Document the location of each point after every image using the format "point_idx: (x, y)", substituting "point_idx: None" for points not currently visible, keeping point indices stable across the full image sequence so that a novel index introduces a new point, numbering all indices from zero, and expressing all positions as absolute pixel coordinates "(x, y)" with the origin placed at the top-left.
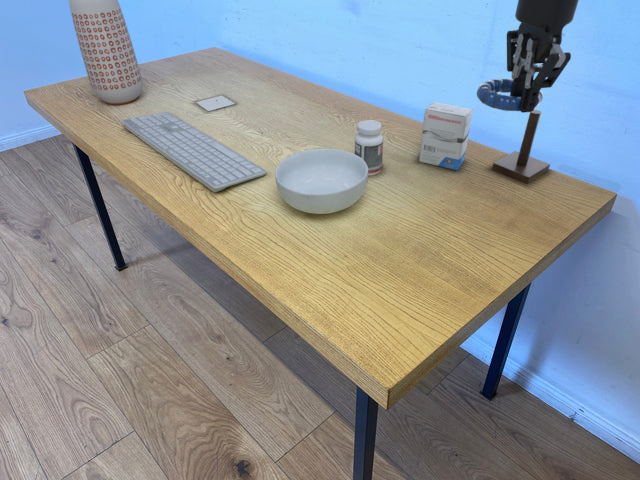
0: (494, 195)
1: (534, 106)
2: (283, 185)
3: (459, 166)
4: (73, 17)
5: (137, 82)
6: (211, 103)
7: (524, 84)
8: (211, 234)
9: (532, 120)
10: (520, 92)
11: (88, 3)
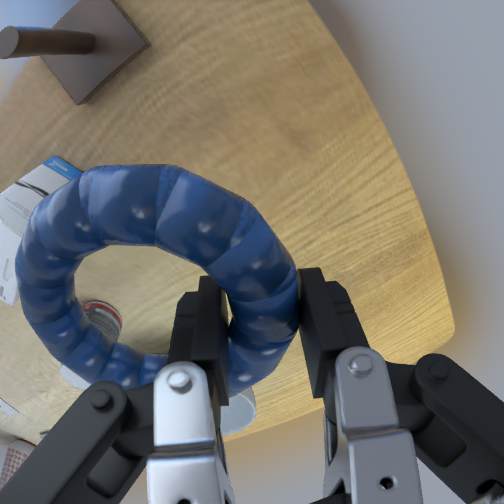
0: (188, 128)
1: (345, 294)
2: (227, 434)
3: (81, 173)
4: None
5: (22, 453)
6: (4, 408)
7: (221, 358)
8: (247, 431)
9: (28, 47)
10: (224, 333)
11: None
